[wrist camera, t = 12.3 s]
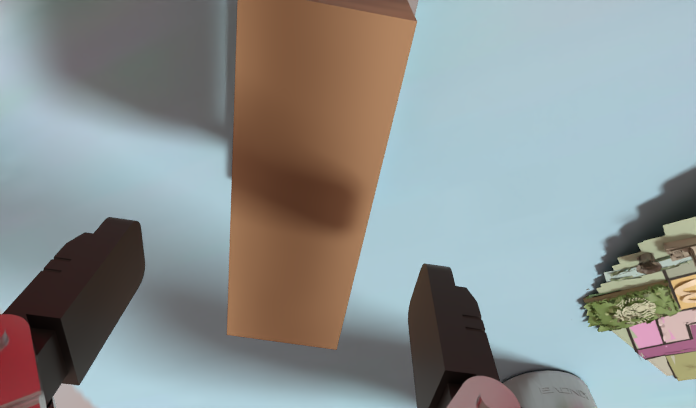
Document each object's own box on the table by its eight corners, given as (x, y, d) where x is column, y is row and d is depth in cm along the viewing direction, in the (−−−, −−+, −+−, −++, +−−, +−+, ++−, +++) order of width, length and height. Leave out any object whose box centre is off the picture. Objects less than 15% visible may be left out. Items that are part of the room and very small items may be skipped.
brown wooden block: (400, -15, 16) (417, 21, 11) (342, 255, 23) (336, 349, 18) (277, -39, 16) (238, -13, 11) (256, 242, 23) (227, 334, 18)
